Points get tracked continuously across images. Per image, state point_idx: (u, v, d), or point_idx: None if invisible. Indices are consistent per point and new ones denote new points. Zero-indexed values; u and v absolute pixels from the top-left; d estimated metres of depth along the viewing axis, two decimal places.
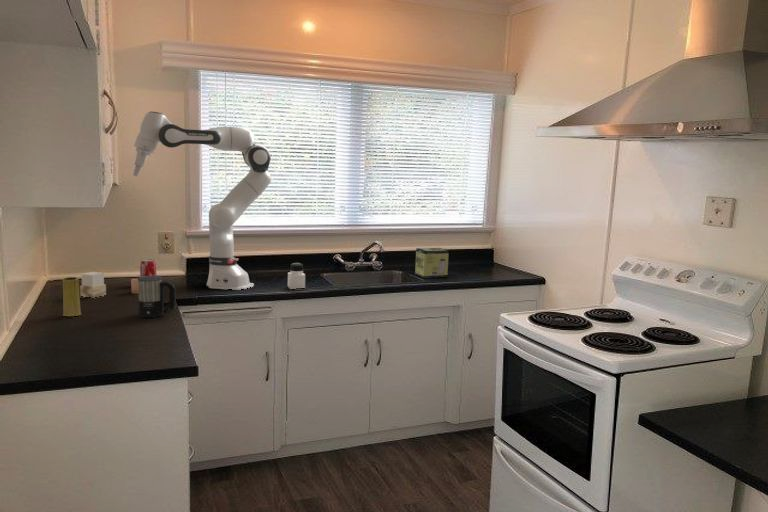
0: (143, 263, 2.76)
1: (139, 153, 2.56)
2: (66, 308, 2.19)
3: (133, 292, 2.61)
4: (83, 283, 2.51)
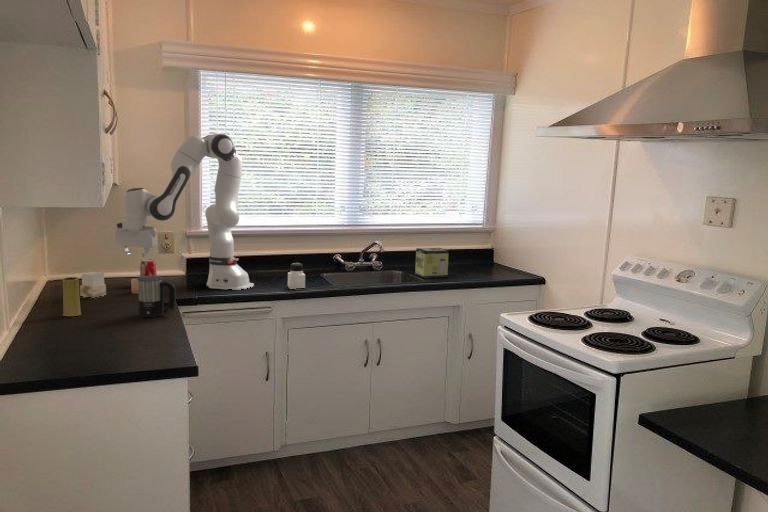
0: (143, 263, 2.76)
1: (151, 235, 2.56)
2: (66, 308, 2.19)
3: (133, 292, 2.61)
4: (83, 283, 2.52)
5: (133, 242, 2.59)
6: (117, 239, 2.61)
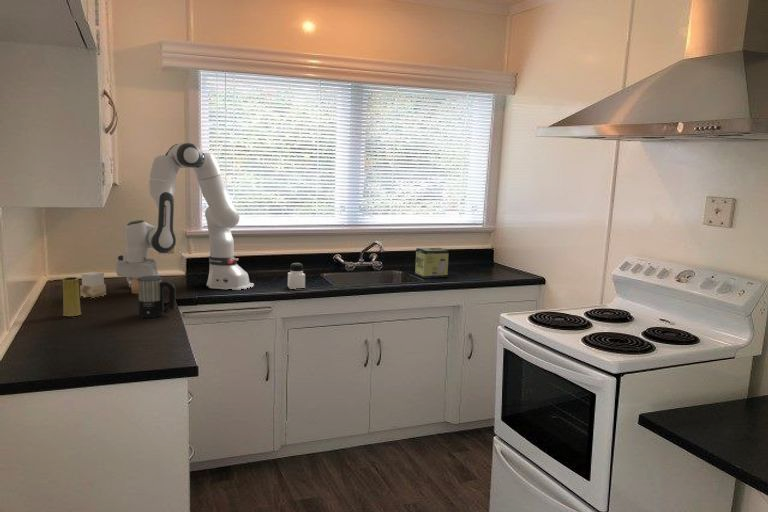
0: None
1: (152, 268, 2.58)
2: (66, 308, 2.19)
3: (133, 292, 2.61)
4: (83, 283, 2.51)
5: (134, 274, 2.61)
6: (118, 271, 2.63)
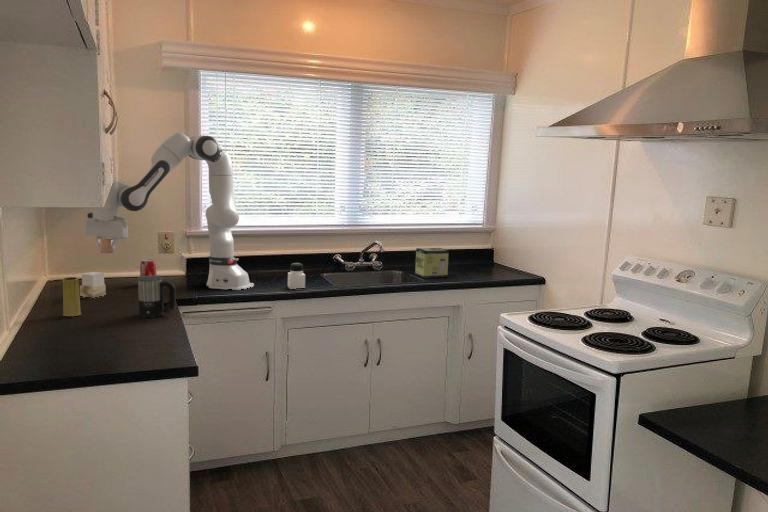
0: (143, 263, 2.76)
1: (122, 226, 2.49)
2: (66, 308, 2.19)
3: (102, 251, 2.52)
4: (83, 283, 2.51)
5: (103, 233, 2.52)
6: (87, 229, 2.54)
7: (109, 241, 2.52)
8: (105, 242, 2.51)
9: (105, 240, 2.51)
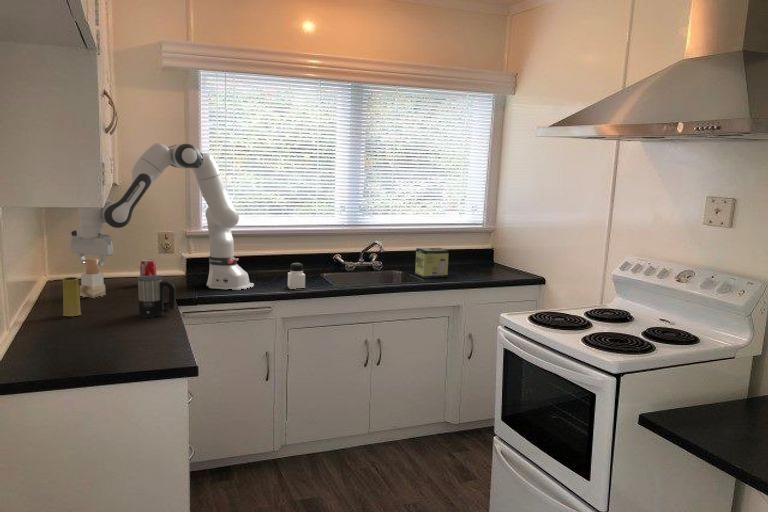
0: (143, 263, 2.76)
1: (107, 243, 2.47)
2: (66, 308, 2.19)
3: (87, 273, 2.51)
4: (83, 283, 2.51)
5: (88, 250, 2.50)
6: (72, 247, 2.52)
7: (94, 262, 2.50)
8: (90, 263, 2.50)
9: (90, 261, 2.50)
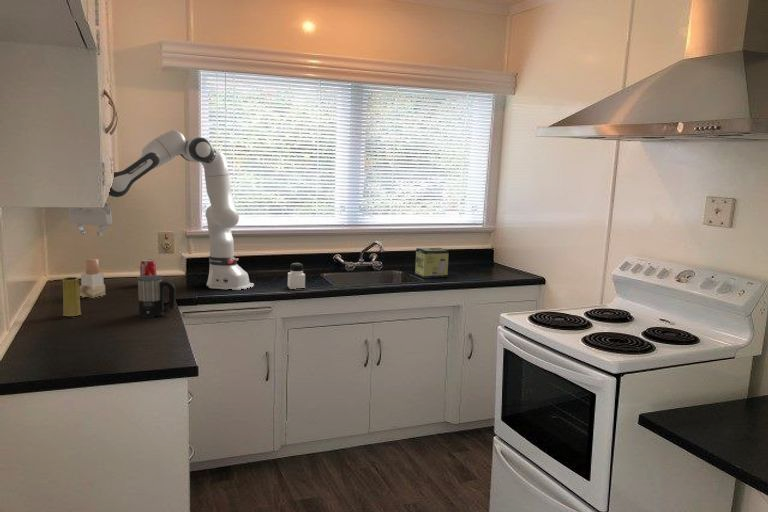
0: (143, 263, 2.76)
1: (106, 213, 2.45)
2: (66, 308, 2.19)
3: (87, 272, 2.50)
4: (83, 283, 2.51)
5: (87, 220, 2.48)
6: (71, 217, 2.50)
7: (94, 262, 2.50)
8: (90, 263, 2.50)
9: (90, 261, 2.49)
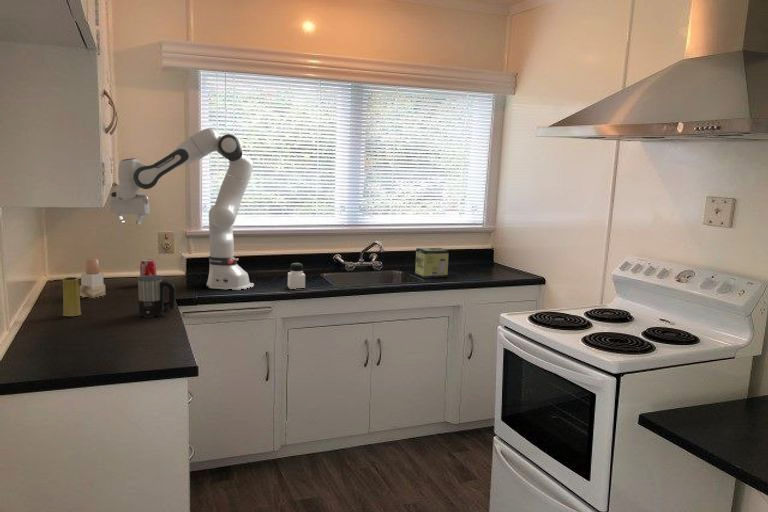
0: (143, 263, 2.76)
1: (144, 203, 2.69)
2: (66, 308, 2.19)
3: (87, 272, 2.51)
4: (82, 283, 2.51)
5: (127, 210, 2.72)
6: (112, 208, 2.75)
7: (93, 262, 2.50)
8: (90, 263, 2.50)
9: (90, 261, 2.50)
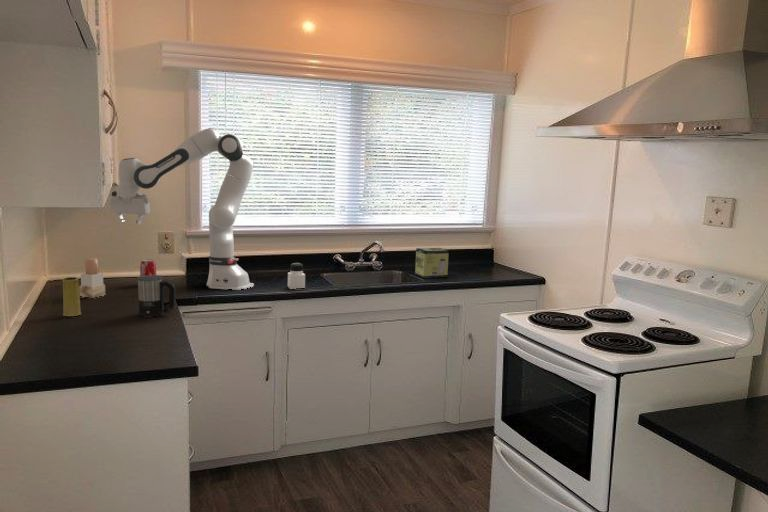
0: (143, 263, 2.76)
1: (144, 203, 2.69)
2: (66, 308, 2.19)
3: (86, 272, 2.50)
4: (82, 283, 2.51)
5: (127, 209, 2.72)
6: (112, 207, 2.75)
7: (91, 263, 2.49)
8: (88, 264, 2.49)
9: (88, 262, 2.49)
